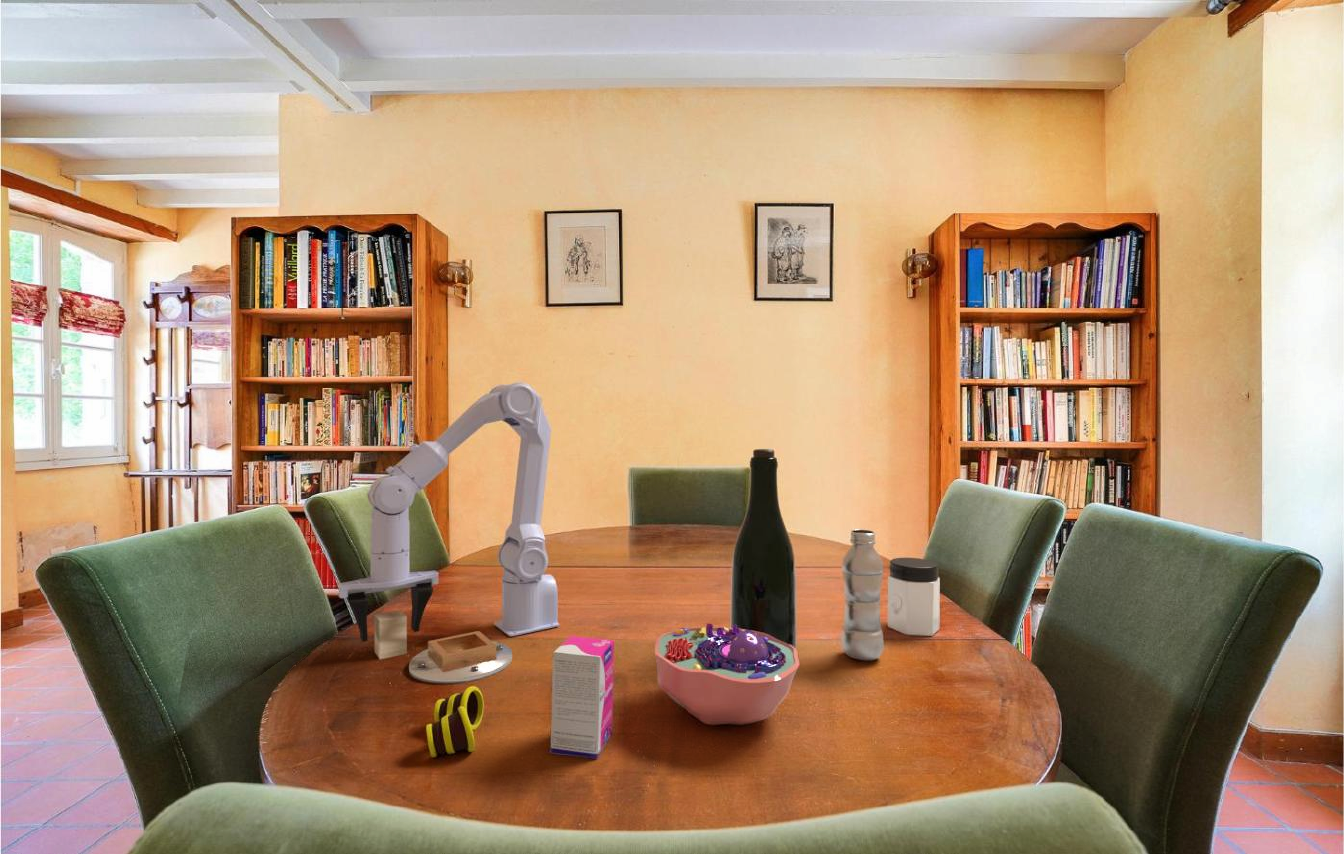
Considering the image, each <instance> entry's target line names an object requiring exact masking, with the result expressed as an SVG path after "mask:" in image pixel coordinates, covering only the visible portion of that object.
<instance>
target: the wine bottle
mask: <svg viewBox="0 0 1344 854" xmlns="http://www.w3.org/2000/svg"><path fill="white" fill-rule="evenodd" d="M752 453H753V456H752V457H750V460H749V468H750V469H749V470H750V476H749V477H750V481H749V484H750V485H749V495H748V502H747V503H748V504H747V508H746V512H745V516H744V519H743V521H742V524H741V527H740V530H739V532H738V534H737V538H736V540H735V541H734V542H735V544H734V548H733V553H732V562H731V581H730V582H731V584H730V588H731V589H730V620H729V621H730V622H729V623H730V625H729V626H730V627H729V628H733V625H734V624H735V625H737V628H740V629H746V630H752V631H757V632H762V633H765V634H768V635H770V636H772V637H774V638H776V639H778V640H781V641H783V642H785V643H788V644H790V645H792V646H793V647H794V648H795V649H796V650H797V592H796V591H797V590H796V589H797V586H796V585H797V584H796V581H797V580H796V563H795V553H794V548H793V544H792V541H791V538H790V535H789V533H788V529H787V527H786V524H785V522H784V518H783V517H782V512H781V509H780V502H779V495H778V494H779V493H778V491H779V490H778V467H779V465H778V463H779V462H778V458H777V457H776V456H775V450H774V449H769V448H758V449H753V452H752Z"/></svg>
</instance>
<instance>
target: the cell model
mask: <svg viewBox="0 0 1344 854" xmlns="http://www.w3.org/2000/svg"><path fill="white" fill-rule="evenodd" d="M798 654H799V653H798V650H797V648H796V649H795V648H794V647H793V646H792V645H790V644H788V643H785V642H783V641H781V640H778V639H776V638H774V637H772V636H770V635H768V634H765V633H762V632H757V631H752V630H746V629H740V628H737V625H735V624H734V625H733V628H730V627H725V626H724V627H723V626H722V627H720V626H719V627H714V625H713V624H712V623H710V622H709V623H706V626H694V627H693V626H692V627H687V628H686V627H681V628H679V629H678V630H674V631H670V632H666V633H664V634H662V635H660V636H658V637H657V639H656V641H655V643H654V655H655V662H656V667H657V668H656V669H657V670H656V671H657V672H656V675H657V679H656V680H657V684H658V686H659V688H660V689H661V690H663V692H665V693H666V694H667V696H668V697H669V698H671V700H673V701H674V702H675V703H676V704H677V705H679V706H680V707H682V708H683V709H685V710H686V711H687V712H688V713H689V714H690V715H692V716H693V717H695V718H696V719H697V720H699V722H700V723H701V722H702V723H703V724H706V725H711V726H716V725H717V726H718V725H726V724H727V725H737V726H746V725H750V724H753V723H757V722H760V721H763V720H765V719H766V720H767V719H768V718H770V717H771V716H772V715H773V714H774V712H775V711H776V710H777V708H778V706H780V704H781V703H782V702H783V701H784V700H785V698H786V697H787V695H788V693H789V691H790V690H791V689H790V688H791V685H792V682H793V680H794V677H795V675H796V672H797V670H798V669H799V666H800V660H799V657H798V656H799V655H798Z"/></svg>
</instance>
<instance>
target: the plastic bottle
mask: <svg viewBox="0 0 1344 854" xmlns="http://www.w3.org/2000/svg"><path fill="white" fill-rule="evenodd" d="M849 540H850V543H851V547H850V548H849V549H848V551H847V552H846V553H845V555H844V557H843V559H842V561H841V570H842V576H843V577H842V578H843V583H844V585H843V586H844V597H845V603H844V604H845V607H844V618H843V619H844V620H843V625H842V629H841V631H842V632H841V637H840V641H841V646H842V650H843V651H844V654H846V655H847V656H848V657H850V658H851V659H855V660H860V661H874V660H877V659H878V658H880V656H881V655H882V654H883V650H884V645H885V643H884V642H885V641H884V635H883V629H882V624H881V623H882V622H881V620H882V619H881V609H880V607H881V606H880V605H881V590H882V589H881V588H882V583H883V578H884V577H883V575H884V574H883V573H884V568H885V567H884V563H883V560H882V558H881V556H880V555H879V553H878V551H877V550H876V549H875V547H874V545H876V539H875V531H874V530H870V529H851V531H850V539H849Z"/></svg>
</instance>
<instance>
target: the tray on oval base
mask: <svg viewBox="0 0 1344 854" xmlns="http://www.w3.org/2000/svg"><path fill="white" fill-rule="evenodd" d="M512 660H513V650H512V649H511V647H509V646H508V645H507V644H505V643H502V642H497V641H493V640H490V638H488V637H487V636H486V635H485V634H483V633H482V632H481V631H480V630H478V631H473V632H471V631H470V632H467V633H462V634H457V635H452V636H447V637H443V638H438V639H433V640H428V641H427V649H425V650H422V651H420V652H419V653H417V654H416V655H415V656H413V657H412V658H411V660H410V661H409V664H408V671H409V674H410V676H411V677H413V678H414V679H416V680H418V681H422V682H424V683H431V684H443V685H446V684H448V685H449V684H460V683H468V682H473V681H476V680H481V679H484V678H487V677H488V678H489V677H490V676H493V675H495V674H497V673H499V672H501V671H503V670H504V669H506V668H507V667H508V666H509V665H510V664H511V662H512Z"/></svg>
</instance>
